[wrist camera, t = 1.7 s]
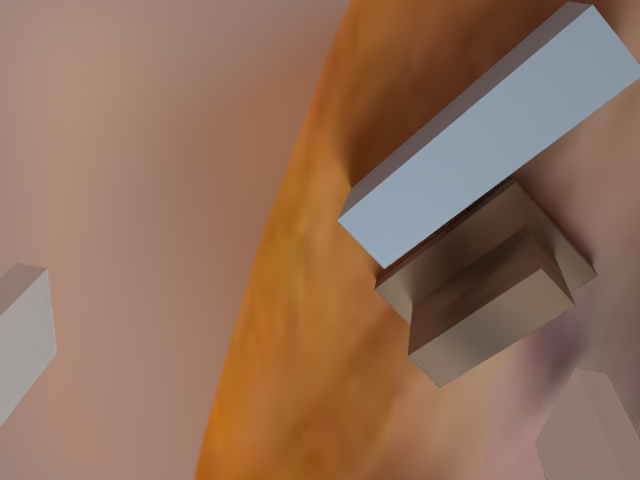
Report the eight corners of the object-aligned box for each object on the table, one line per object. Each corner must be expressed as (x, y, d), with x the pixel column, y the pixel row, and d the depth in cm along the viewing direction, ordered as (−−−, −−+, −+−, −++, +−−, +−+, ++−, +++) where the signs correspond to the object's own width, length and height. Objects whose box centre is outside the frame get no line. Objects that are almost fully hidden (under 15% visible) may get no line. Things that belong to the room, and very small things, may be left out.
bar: (351, 187, 32) (337, 220, 27) (566, 1, 26) (592, 4, 21) (392, 229, 32) (384, 268, 28) (611, 57, 26) (646, 72, 22)
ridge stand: (512, 177, 29) (528, 220, 24) (593, 267, 30) (625, 326, 25) (376, 281, 33) (363, 337, 28) (451, 356, 35) (453, 423, 29)
